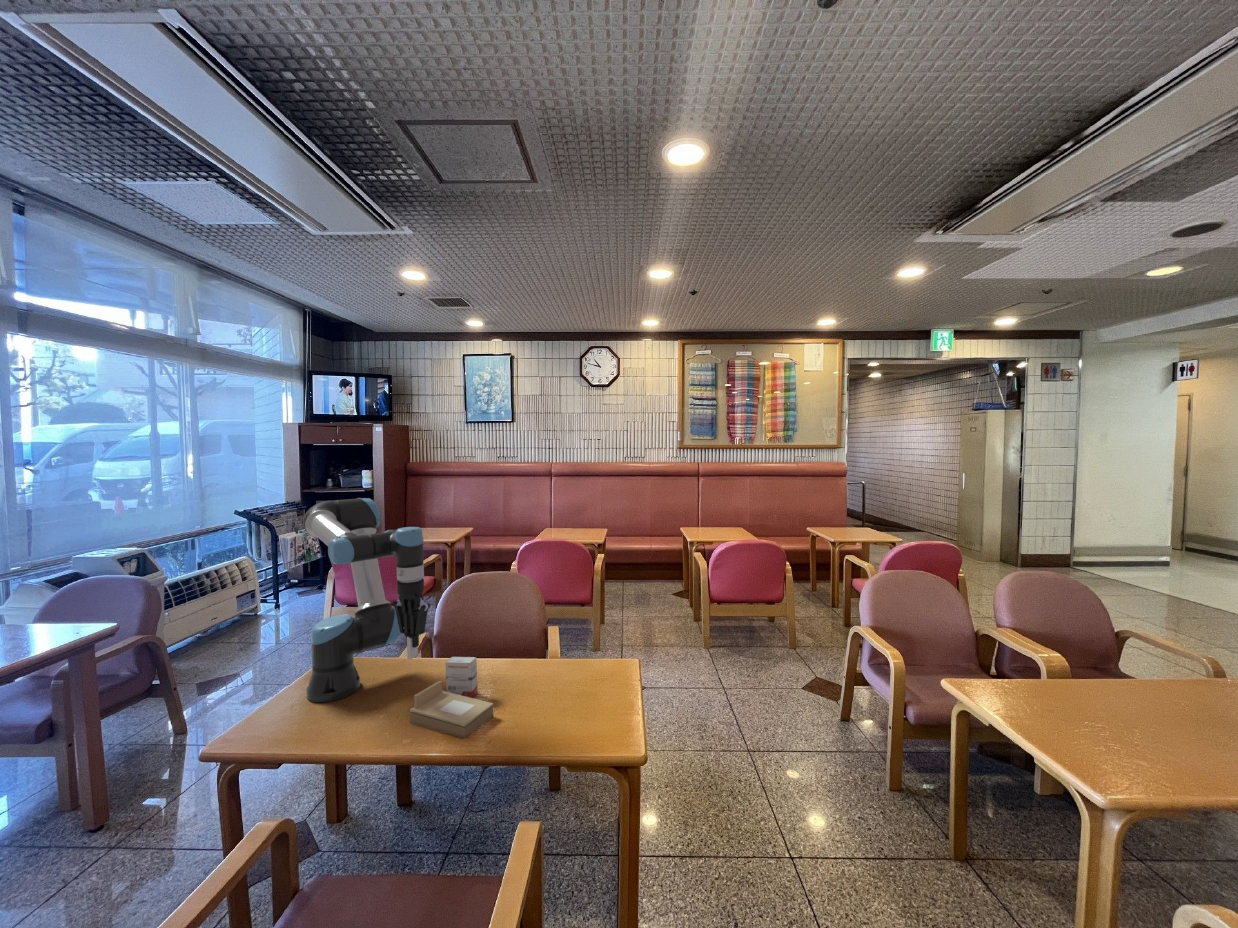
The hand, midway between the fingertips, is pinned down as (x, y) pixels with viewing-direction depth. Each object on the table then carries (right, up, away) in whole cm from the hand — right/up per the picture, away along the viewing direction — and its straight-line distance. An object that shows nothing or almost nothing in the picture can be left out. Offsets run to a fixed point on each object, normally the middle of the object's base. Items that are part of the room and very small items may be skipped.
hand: (412, 656), depth 149 cm
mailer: (+14, -16, -5) cm, 22 cm away
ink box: (+12, -16, +8) cm, 22 cm away
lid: (+14, -13, -6) cm, 20 cm away
